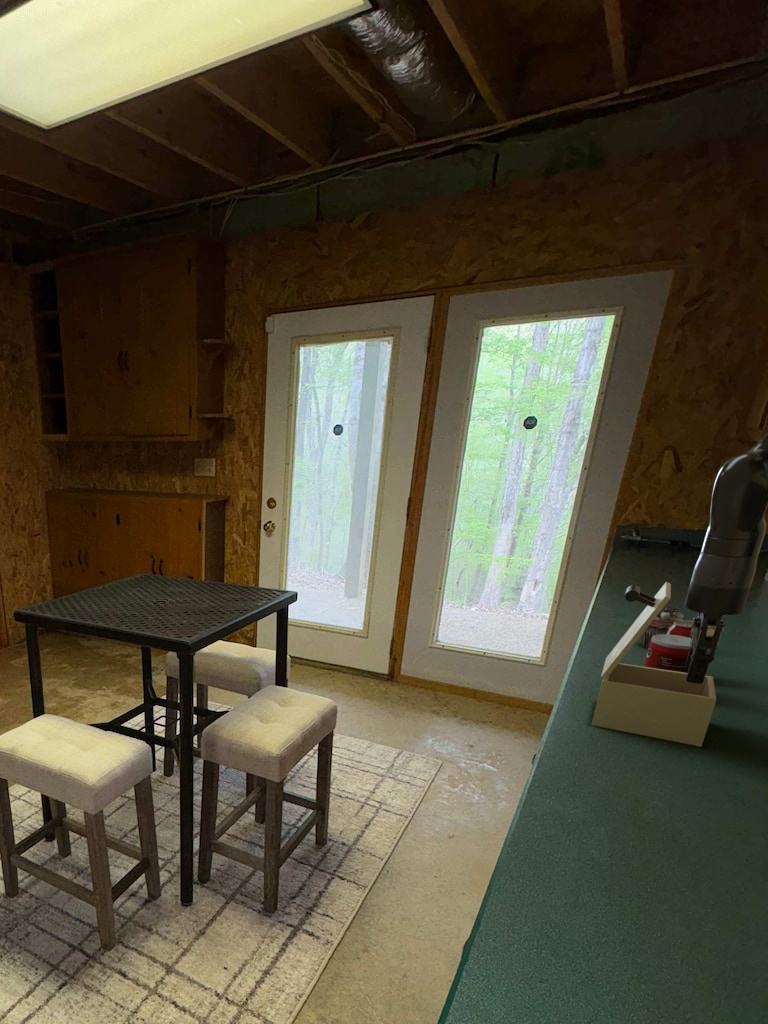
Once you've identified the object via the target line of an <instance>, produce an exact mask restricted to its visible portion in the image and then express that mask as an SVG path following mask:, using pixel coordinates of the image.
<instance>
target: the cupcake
mask: <svg viewBox="0 0 768 1024" xmlns="http://www.w3.org/2000/svg"><path fill="white" fill-rule="evenodd" d="M679 610H680V609H677V608H673V607H671V606H670V605H669V606H666V607H664V608H663V609H662V610H661V611H660V612H659V614H658V615H657V616H656V617H655V619H654V620H653V621H652V622H651V624H650V625H649V626H648V627H647V628H646V630H645V631H644V632H643V633H642V635H641V636H640V646H641V648H643V649H646V650H648V648H649V645H650V641H651V639H652V636H654V635H660V634H667V631H668V629H669V628H670V627H671V626H672V625H674V621H676V620H686V618H685V616H684V615H683V614H682V613H681V612H680V611H679Z"/></svg>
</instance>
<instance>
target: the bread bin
mask: <svg viewBox="0 0 768 1024" xmlns="http://www.w3.org/2000/svg"><path fill="white" fill-rule="evenodd" d="M687 674H688V673H684V672H677V671H670V670H663V669H656V668H650V667H644V665H643V666H642V665H634V664H628V663H621V662H619V663H618V665H617V666H616V667H615V668H614V669H613V671H612V672H611V673H610V674H609V676H608V677H607V678H606V679H605V680H604V679H602V680H601V684H600V688H599V693H598V696H597V701H596V704H595V709H594V713H593V716H592V722H591V726H593V727H599V728H603V729H609V730H614V731H619V732H625V733H629V734H635V735H640V736H643V737H644V736H645V737H650V738H655V739H659V740H666V741H669V742H676V743H680V744H686V745H691V746H696V747H699V748H702V747H703V744H704V740H705V738H706V734H707V731H708V728H709V725H710V721H711V718H712V715H713V712H714V709H715V706H716V703H717V694H716V688H715V681H714V676H712V675H705V678H704V681H703V683H701V684H696V683H690V682H687V680H686V678H687Z"/></svg>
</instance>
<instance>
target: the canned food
mask: <svg viewBox="0 0 768 1024" xmlns="http://www.w3.org/2000/svg"><path fill="white" fill-rule="evenodd" d="M690 641H691V638H688V637H684V636H678V635H668V634H660V635H654V636H652V639H651V641H650V645H649V648H648V649H647V652H646V657H645V661H644V664H643V667H650V668H656V669H663V670H670V671H677V672H684V673H688V671H689V668H687V667H686V661H687V658H688V654H689V651H690Z"/></svg>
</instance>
